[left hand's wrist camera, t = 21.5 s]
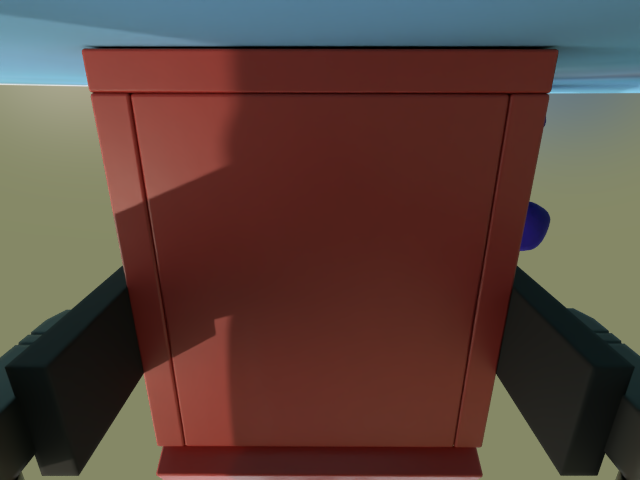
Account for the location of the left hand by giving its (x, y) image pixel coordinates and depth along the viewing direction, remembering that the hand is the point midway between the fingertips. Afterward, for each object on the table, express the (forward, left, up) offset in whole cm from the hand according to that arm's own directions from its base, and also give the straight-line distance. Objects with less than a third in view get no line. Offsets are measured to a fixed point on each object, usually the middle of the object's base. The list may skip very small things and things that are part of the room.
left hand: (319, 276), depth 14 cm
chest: (-1, -5, -7) cm, 9 cm away
